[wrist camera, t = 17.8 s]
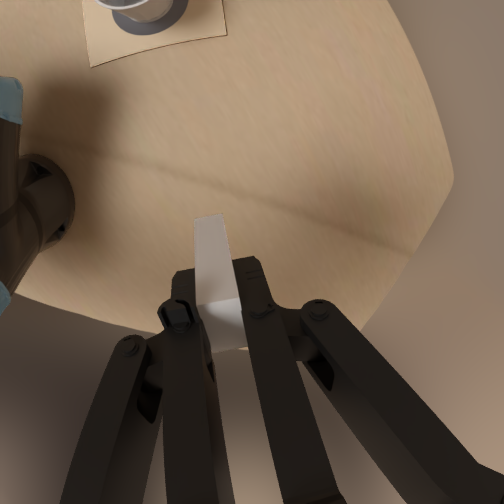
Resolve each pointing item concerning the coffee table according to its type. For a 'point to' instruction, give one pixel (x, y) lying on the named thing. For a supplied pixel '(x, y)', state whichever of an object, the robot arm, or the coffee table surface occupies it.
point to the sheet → (148, 28)
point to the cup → (138, 8)
